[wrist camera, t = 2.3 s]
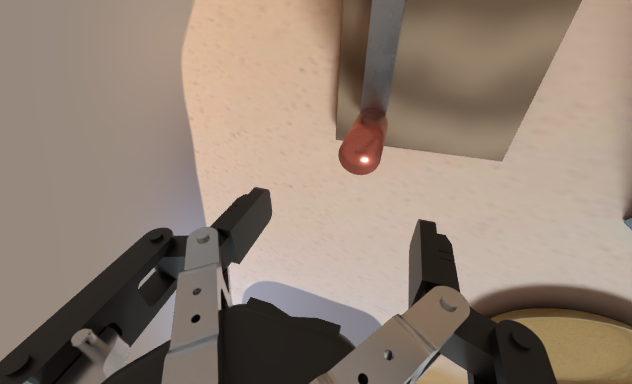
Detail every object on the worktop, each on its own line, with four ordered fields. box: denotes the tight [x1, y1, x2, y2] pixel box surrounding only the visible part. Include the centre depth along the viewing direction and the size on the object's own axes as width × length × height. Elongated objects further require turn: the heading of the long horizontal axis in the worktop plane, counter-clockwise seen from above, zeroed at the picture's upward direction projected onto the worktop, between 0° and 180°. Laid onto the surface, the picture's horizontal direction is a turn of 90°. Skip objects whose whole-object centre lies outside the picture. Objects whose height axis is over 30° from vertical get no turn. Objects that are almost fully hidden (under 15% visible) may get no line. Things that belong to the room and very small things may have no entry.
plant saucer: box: [490, 308, 632, 384], centre depth 38 cm, size 24×24×3 cm
